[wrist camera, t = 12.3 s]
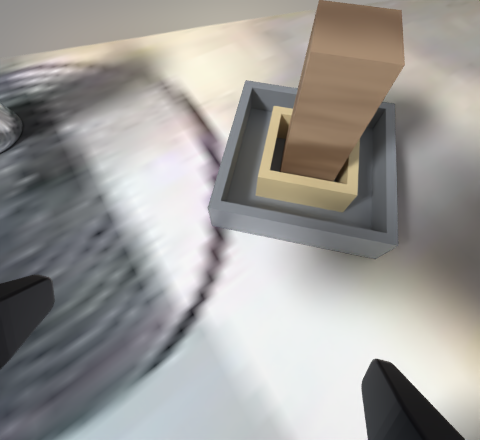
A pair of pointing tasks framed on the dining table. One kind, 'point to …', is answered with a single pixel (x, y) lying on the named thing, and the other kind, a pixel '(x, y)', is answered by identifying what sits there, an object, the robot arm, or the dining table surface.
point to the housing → (306, 181)
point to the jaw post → (341, 85)
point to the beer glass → (9, 127)
